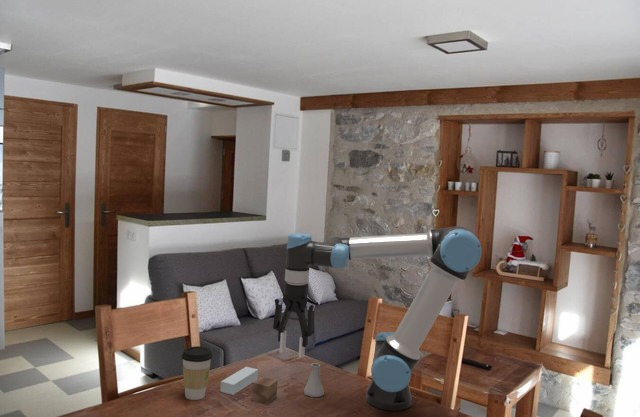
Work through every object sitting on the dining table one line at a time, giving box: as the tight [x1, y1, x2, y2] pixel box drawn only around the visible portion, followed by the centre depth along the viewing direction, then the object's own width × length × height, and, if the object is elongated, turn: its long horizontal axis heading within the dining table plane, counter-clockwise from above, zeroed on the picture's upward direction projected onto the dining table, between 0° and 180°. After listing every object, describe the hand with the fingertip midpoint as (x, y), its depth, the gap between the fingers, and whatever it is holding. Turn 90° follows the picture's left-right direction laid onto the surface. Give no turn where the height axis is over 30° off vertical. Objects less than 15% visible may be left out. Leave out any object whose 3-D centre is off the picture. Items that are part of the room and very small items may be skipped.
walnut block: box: [251, 376, 278, 406], centre depth 176 cm, size 6×6×6 cm
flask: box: [303, 362, 325, 398], centre depth 183 cm, size 7×7×10 cm
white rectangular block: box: [219, 366, 259, 396], centre depth 185 cm, size 5×16×4 cm, turn 156°
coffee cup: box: [181, 345, 213, 401], centre depth 174 cm, size 10×10×15 cm
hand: (291, 353), depth 171 cm, fingers open, 6 cm apart
